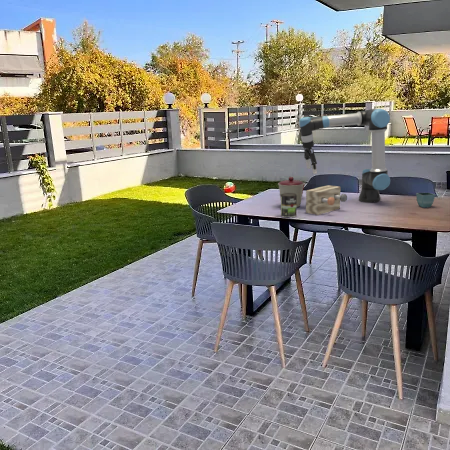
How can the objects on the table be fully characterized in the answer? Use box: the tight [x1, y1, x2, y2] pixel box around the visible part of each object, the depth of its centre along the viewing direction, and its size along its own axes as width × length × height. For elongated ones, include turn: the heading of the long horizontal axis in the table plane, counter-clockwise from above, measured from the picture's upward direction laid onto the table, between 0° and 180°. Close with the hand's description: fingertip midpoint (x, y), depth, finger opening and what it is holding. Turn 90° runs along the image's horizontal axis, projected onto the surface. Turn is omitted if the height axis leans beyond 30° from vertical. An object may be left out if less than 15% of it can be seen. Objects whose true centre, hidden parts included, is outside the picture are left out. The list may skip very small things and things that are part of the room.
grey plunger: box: [334, 193, 348, 203], centre depth 302 cm, size 12×5×5 cm, turn 42°
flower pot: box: [415, 192, 436, 209], centre depth 303 cm, size 9×9×9 cm
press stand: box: [305, 184, 342, 216], centre depth 302 cm, size 10×24×15 cm, turn 132°
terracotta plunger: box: [321, 197, 335, 205], centre depth 293 cm, size 12×5×5 cm, turn 42°
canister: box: [277, 176, 305, 208], centre depth 317 cm, size 18×18×21 cm
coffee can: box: [280, 193, 298, 218], centre depth 292 cm, size 10×10×14 cm
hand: (312, 171), depth 311 cm, fingers open, 13 cm apart
